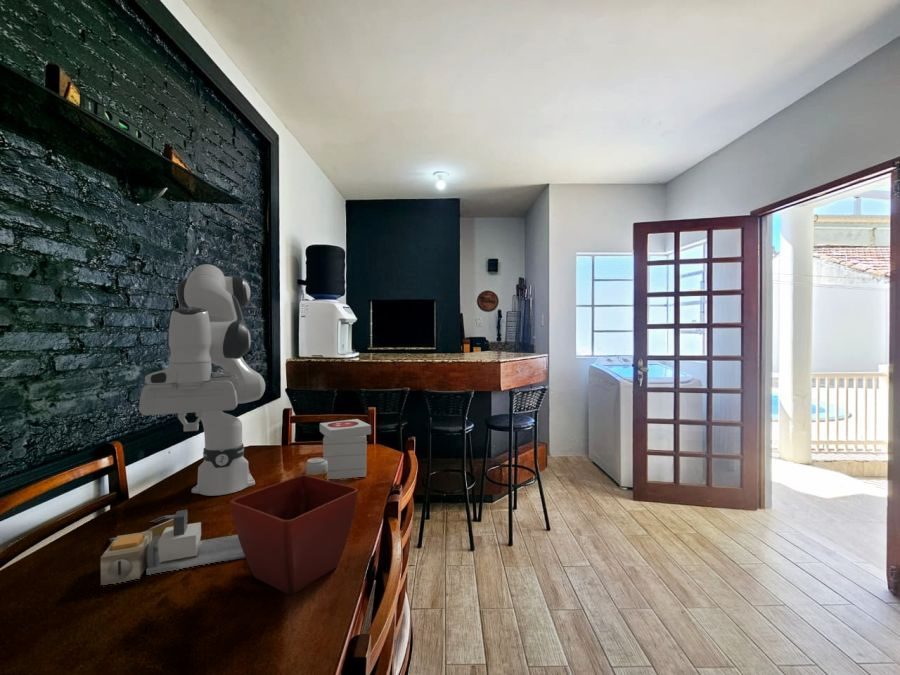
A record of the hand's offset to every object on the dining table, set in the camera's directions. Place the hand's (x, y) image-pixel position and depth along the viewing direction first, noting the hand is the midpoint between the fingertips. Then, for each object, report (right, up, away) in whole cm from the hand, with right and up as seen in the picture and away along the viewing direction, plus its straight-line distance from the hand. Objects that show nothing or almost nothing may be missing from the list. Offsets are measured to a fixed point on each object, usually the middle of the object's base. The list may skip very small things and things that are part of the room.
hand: (191, 430), depth 102 cm
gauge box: (-7, -28, -11) cm, 31 cm away
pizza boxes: (+23, -28, +60) cm, 70 cm away
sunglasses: (-14, -29, +6) cm, 32 cm away
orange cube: (-7, -25, -11) cm, 28 cm away
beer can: (+25, -28, +19) cm, 42 cm away
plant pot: (+30, -28, -12) cm, 43 cm away
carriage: (+2, -26, -7) cm, 27 cm away
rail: (+9, -28, -5) cm, 30 cm away
